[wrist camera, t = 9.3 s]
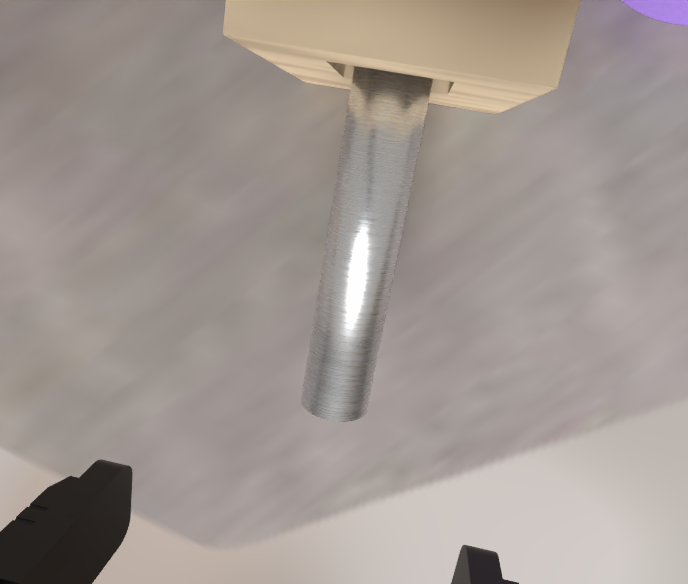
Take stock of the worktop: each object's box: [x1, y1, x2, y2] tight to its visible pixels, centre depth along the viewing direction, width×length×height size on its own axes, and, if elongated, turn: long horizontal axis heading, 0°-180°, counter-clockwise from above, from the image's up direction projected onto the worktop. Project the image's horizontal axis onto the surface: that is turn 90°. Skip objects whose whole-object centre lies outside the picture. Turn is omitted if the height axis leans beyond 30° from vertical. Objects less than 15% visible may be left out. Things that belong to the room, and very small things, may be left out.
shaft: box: [301, 66, 433, 422], centre depth 21 cm, size 19×3×3 cm, turn 171°
